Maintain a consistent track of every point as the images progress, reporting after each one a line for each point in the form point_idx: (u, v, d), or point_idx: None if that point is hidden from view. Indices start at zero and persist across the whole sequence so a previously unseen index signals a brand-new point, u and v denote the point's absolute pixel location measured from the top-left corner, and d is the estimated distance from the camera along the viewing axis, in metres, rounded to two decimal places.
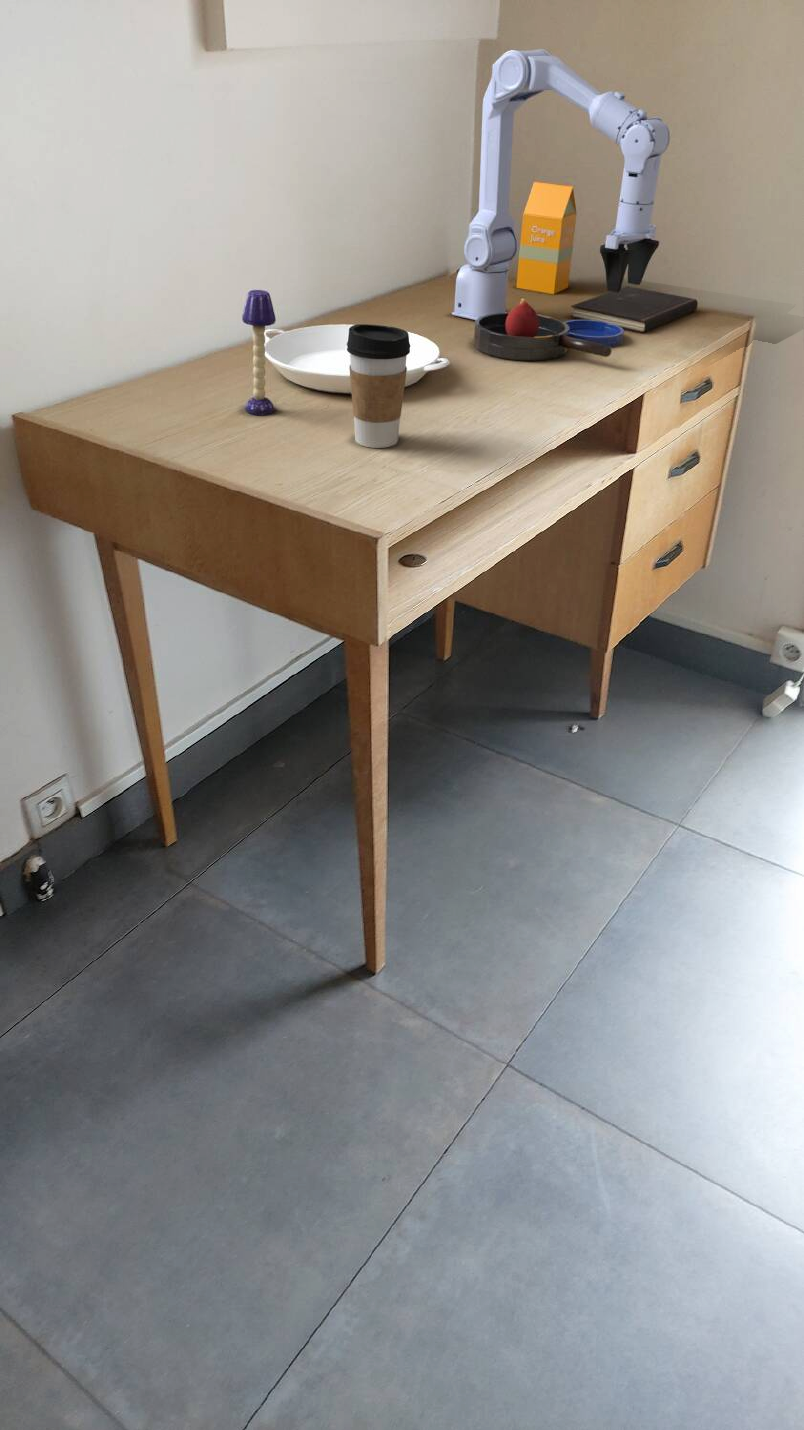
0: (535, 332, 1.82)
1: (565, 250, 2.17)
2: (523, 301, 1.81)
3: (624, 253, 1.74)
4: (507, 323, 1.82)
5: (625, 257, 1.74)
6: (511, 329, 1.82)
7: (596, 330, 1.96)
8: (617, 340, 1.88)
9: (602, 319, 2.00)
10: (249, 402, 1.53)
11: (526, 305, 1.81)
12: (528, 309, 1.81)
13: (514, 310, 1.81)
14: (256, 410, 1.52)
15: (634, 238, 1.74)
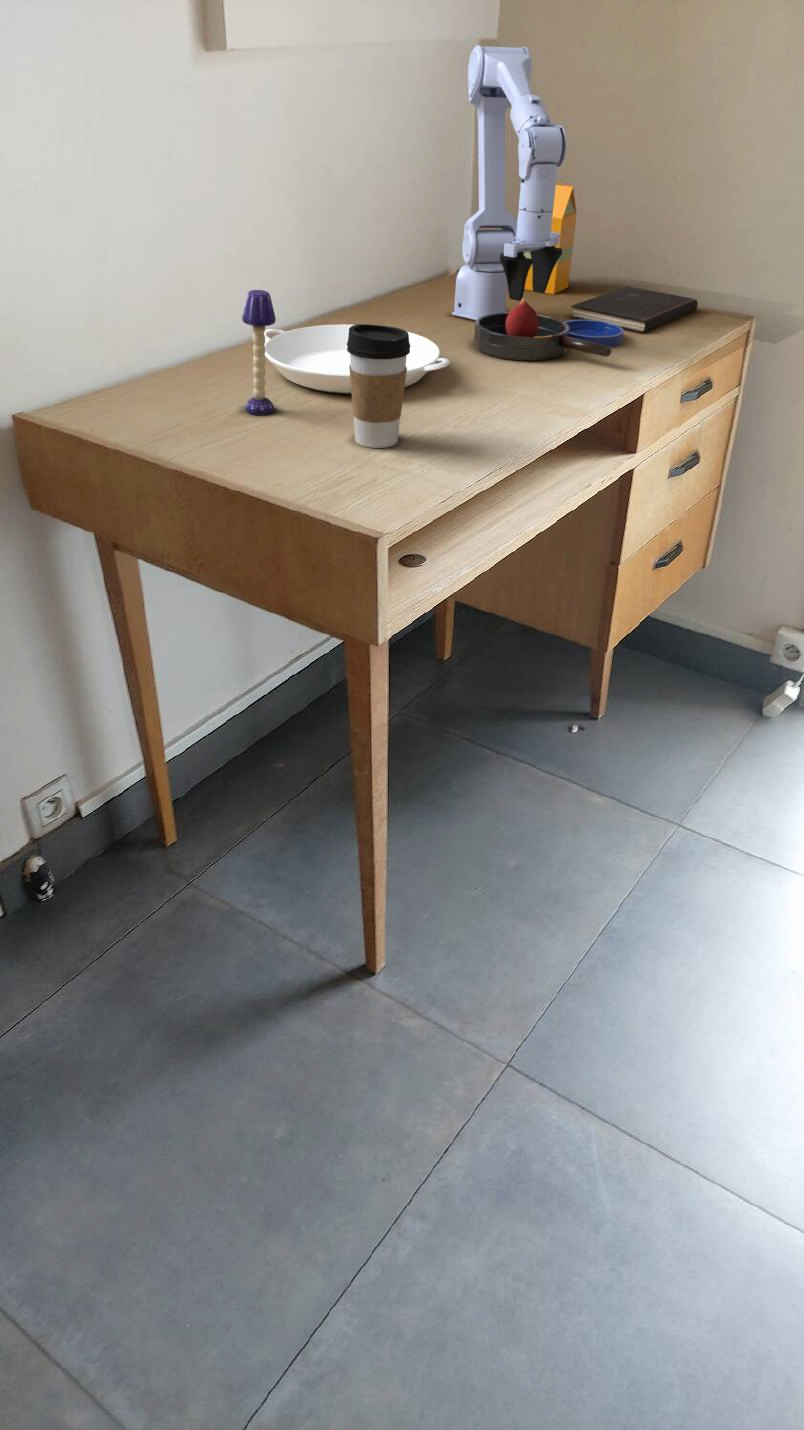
0: (535, 332, 1.82)
1: (565, 250, 2.17)
2: (523, 301, 1.81)
3: (523, 261, 1.72)
4: (507, 323, 1.82)
5: (524, 265, 1.72)
6: (511, 329, 1.82)
7: (596, 330, 1.96)
8: (617, 340, 1.88)
9: (602, 319, 2.00)
10: (249, 402, 1.53)
11: (526, 305, 1.81)
12: (528, 309, 1.81)
13: (514, 310, 1.81)
14: (256, 410, 1.52)
15: (533, 246, 1.72)
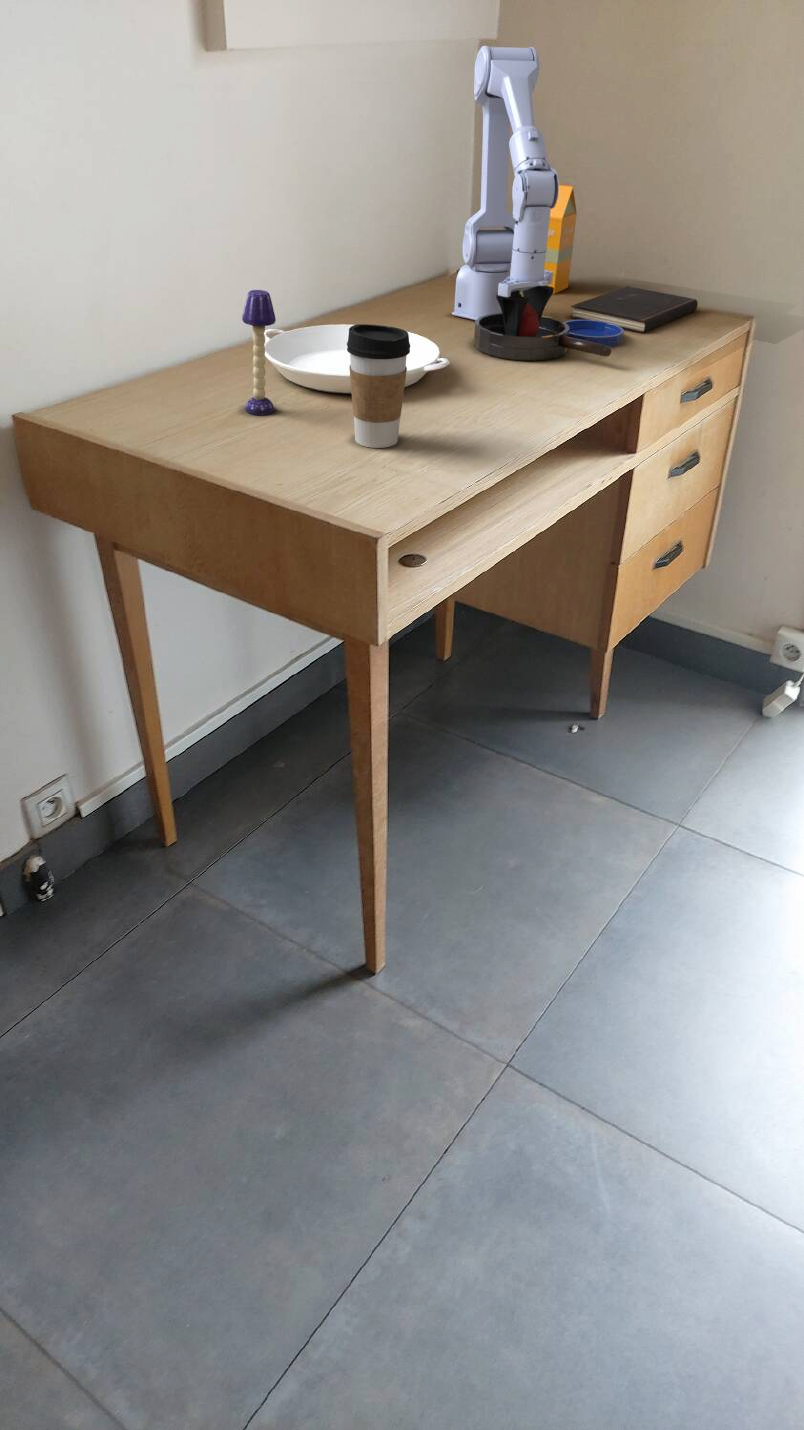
0: (535, 332, 1.82)
1: (565, 250, 2.17)
2: None
3: (519, 300, 1.76)
4: None
5: (520, 304, 1.76)
6: None
7: (596, 330, 1.96)
8: (617, 340, 1.88)
9: (602, 319, 2.00)
10: (249, 402, 1.53)
11: (526, 305, 1.81)
12: (529, 309, 1.81)
13: None
14: (256, 410, 1.52)
15: (527, 286, 1.76)
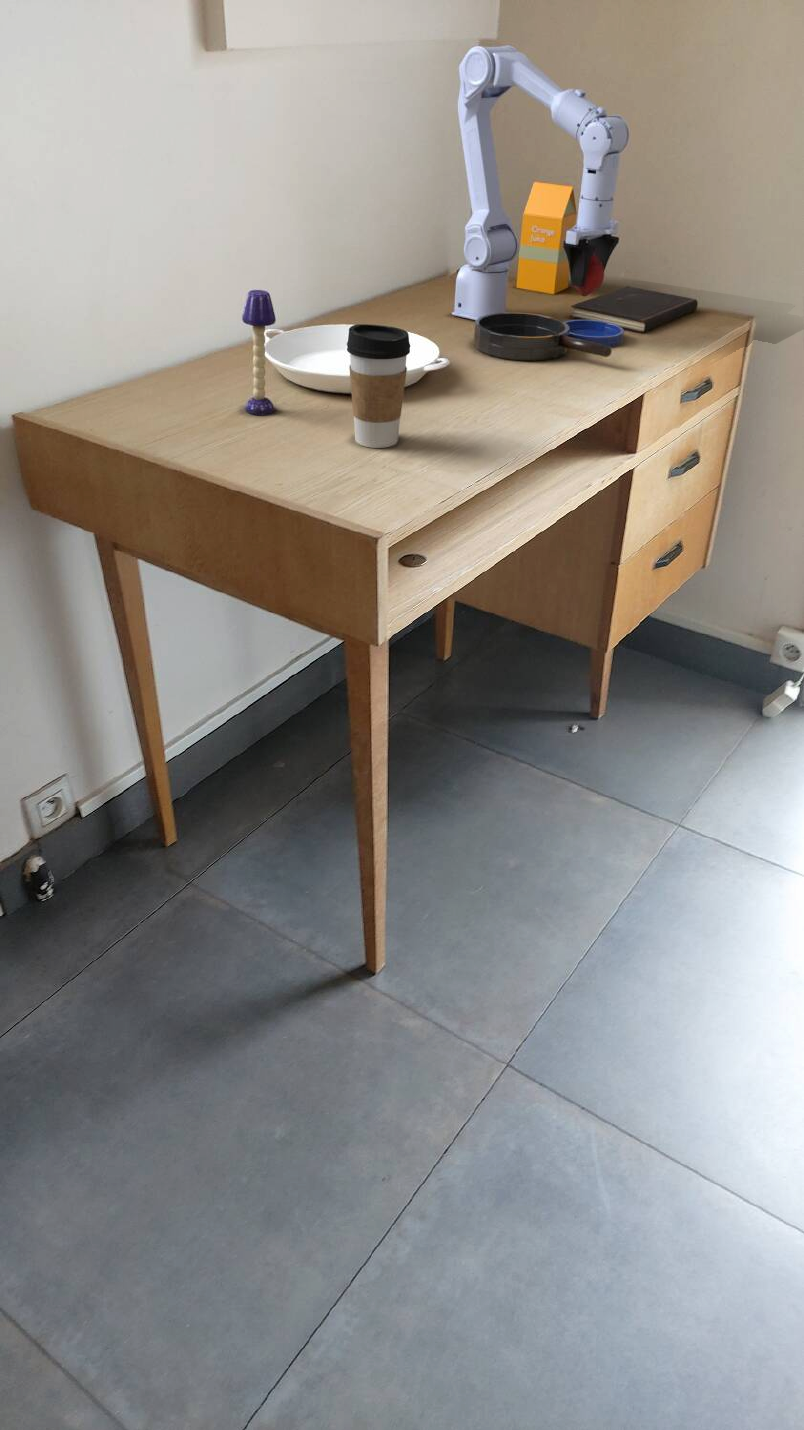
0: (600, 282, 1.84)
1: None
2: None
3: (586, 248, 1.77)
4: None
5: (587, 252, 1.77)
6: None
7: (596, 330, 1.96)
8: (617, 340, 1.88)
9: (602, 319, 2.00)
10: (249, 402, 1.53)
11: None
12: (595, 258, 1.82)
13: None
14: (256, 410, 1.52)
15: (594, 234, 1.77)
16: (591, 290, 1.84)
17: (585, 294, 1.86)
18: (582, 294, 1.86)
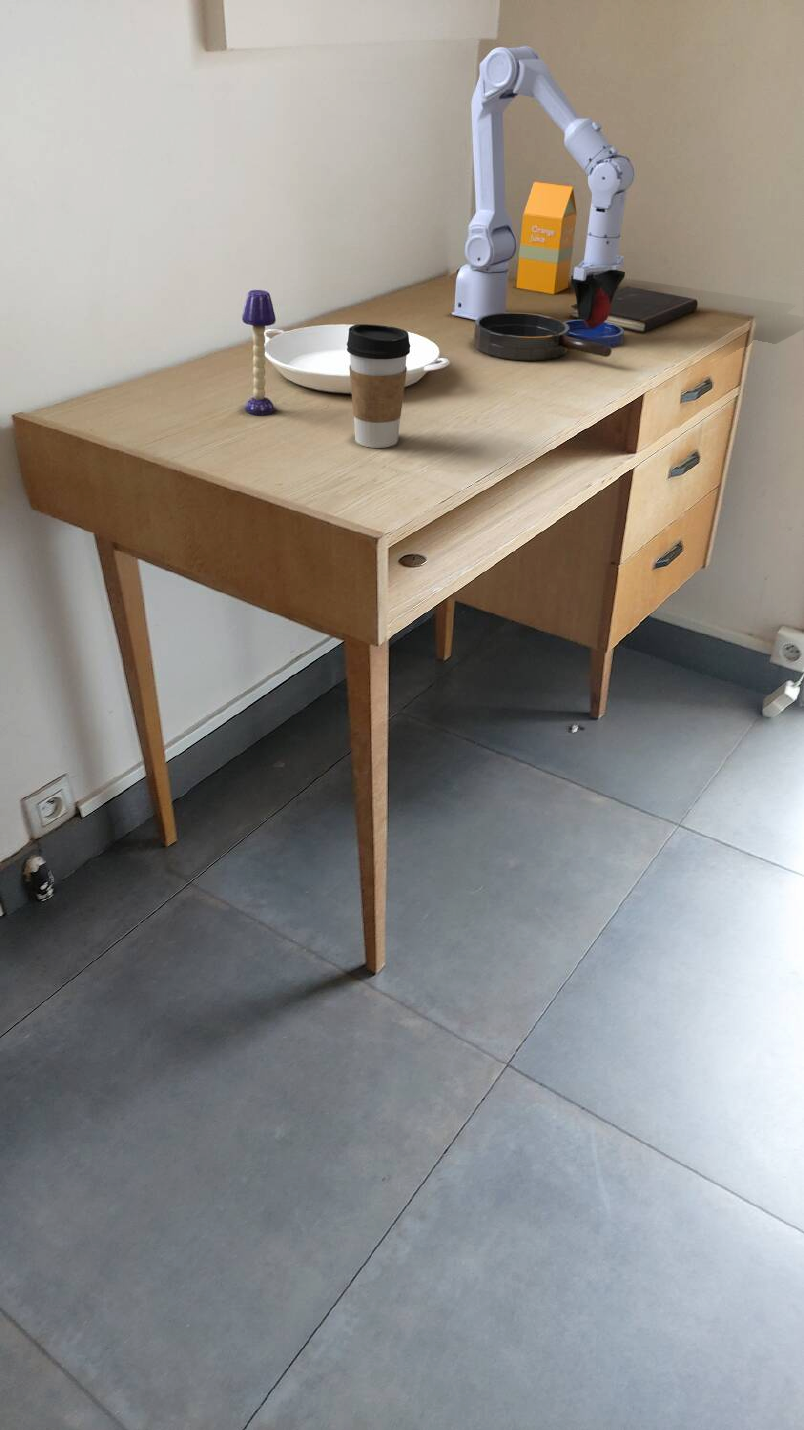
0: (607, 315, 1.88)
1: (565, 250, 2.17)
2: None
3: (593, 283, 1.81)
4: None
5: (594, 287, 1.82)
6: None
7: (596, 330, 1.96)
8: (617, 340, 1.88)
9: None
10: (249, 402, 1.53)
11: None
12: (601, 293, 1.86)
13: None
14: (256, 410, 1.52)
15: (601, 270, 1.82)
16: (598, 323, 1.89)
17: (592, 327, 1.90)
18: (589, 327, 1.90)
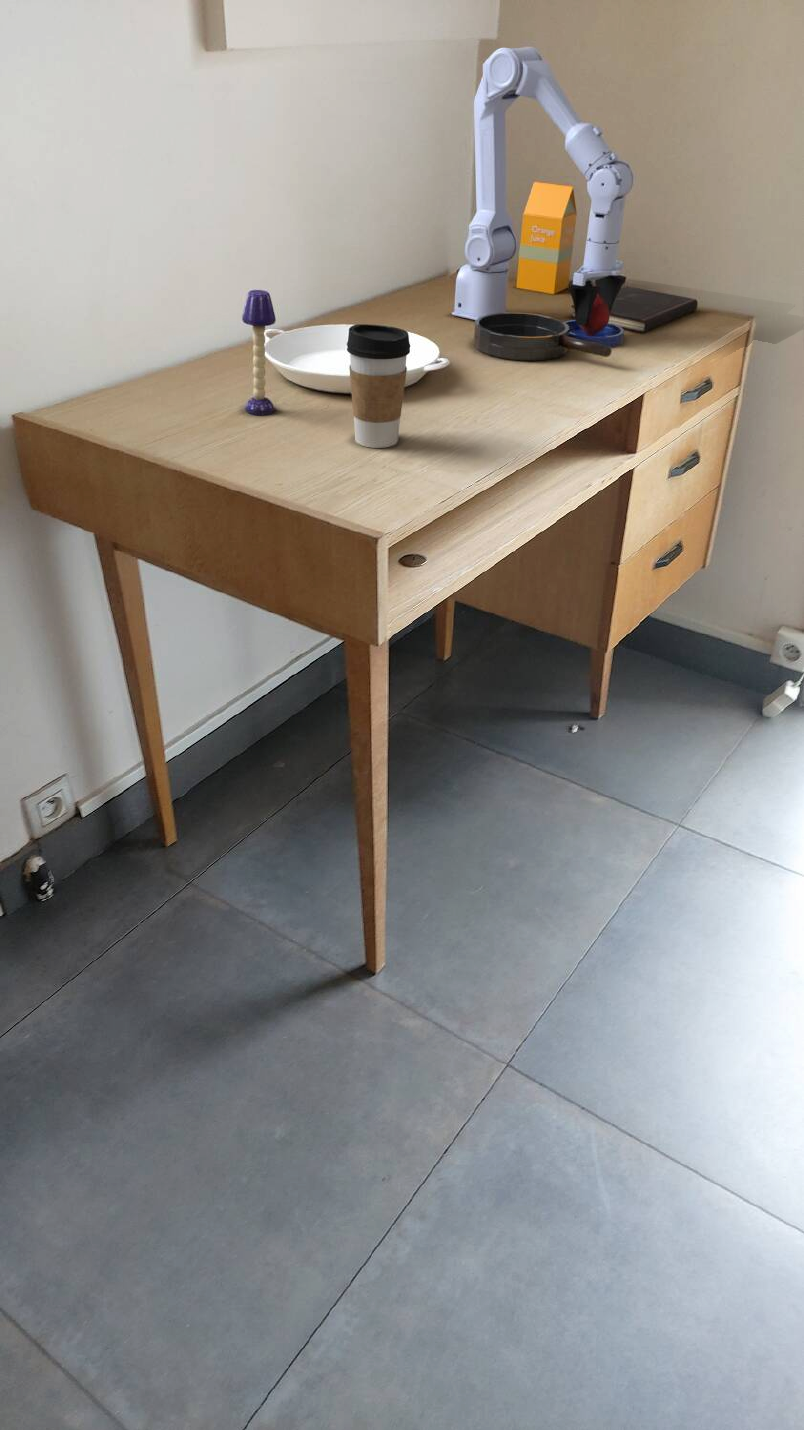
0: (606, 323, 1.89)
1: (565, 250, 2.17)
2: None
3: (591, 290, 1.82)
4: None
5: (592, 293, 1.82)
6: None
7: None
8: (617, 340, 1.88)
9: None
10: (249, 402, 1.53)
11: (598, 297, 1.87)
12: (600, 301, 1.87)
13: None
14: (256, 410, 1.52)
15: (601, 275, 1.82)
16: (597, 331, 1.90)
17: (591, 335, 1.91)
18: (588, 334, 1.91)
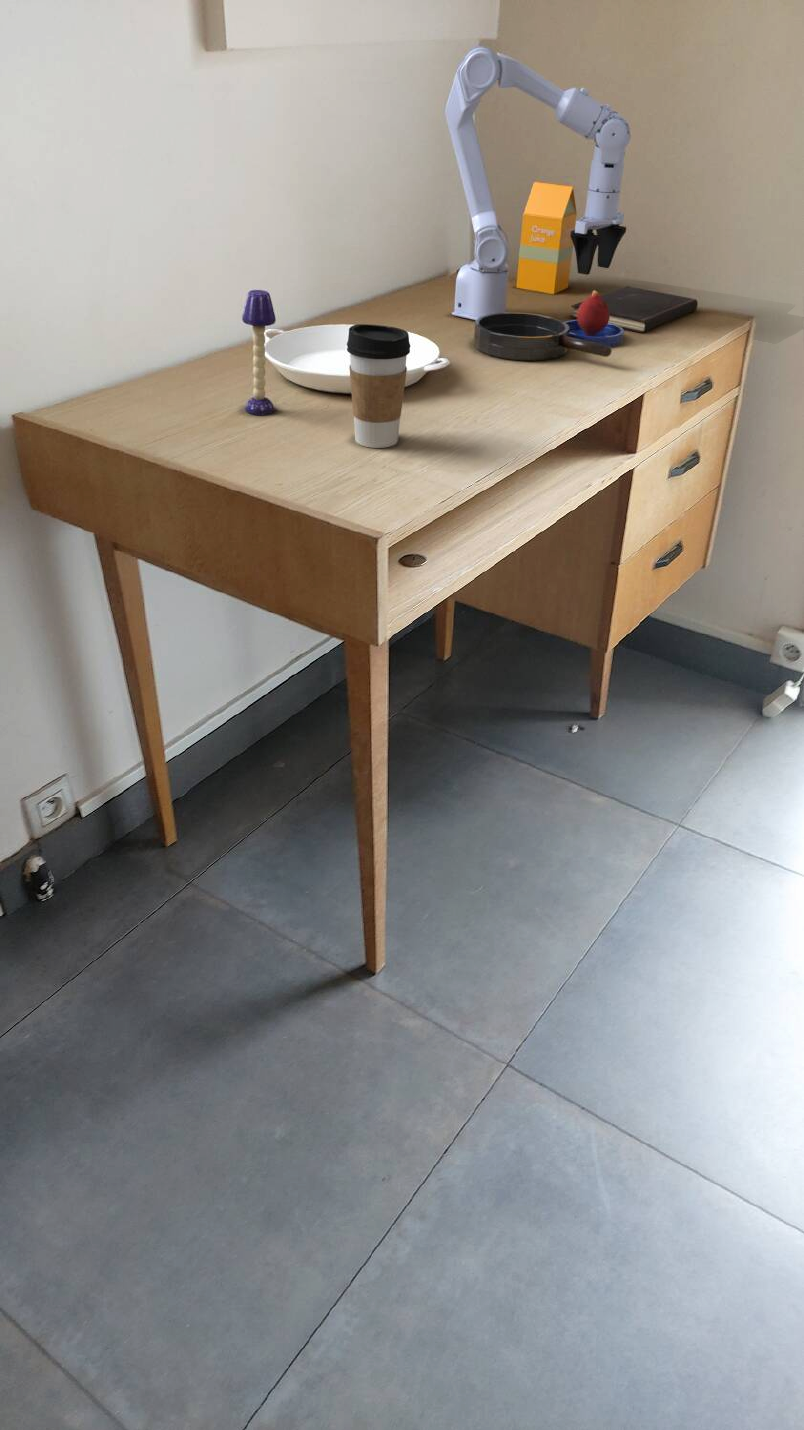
0: (606, 323, 1.89)
1: (565, 250, 2.17)
2: (595, 293, 1.87)
3: (592, 238, 1.87)
4: (579, 314, 1.89)
5: (593, 241, 1.88)
6: (583, 320, 1.88)
7: None
8: (617, 340, 1.88)
9: None
10: (249, 402, 1.53)
11: (598, 297, 1.87)
12: (600, 301, 1.87)
13: (586, 302, 1.88)
14: (256, 410, 1.52)
15: (602, 224, 1.88)
16: (597, 331, 1.90)
17: (591, 335, 1.91)
18: (588, 334, 1.91)
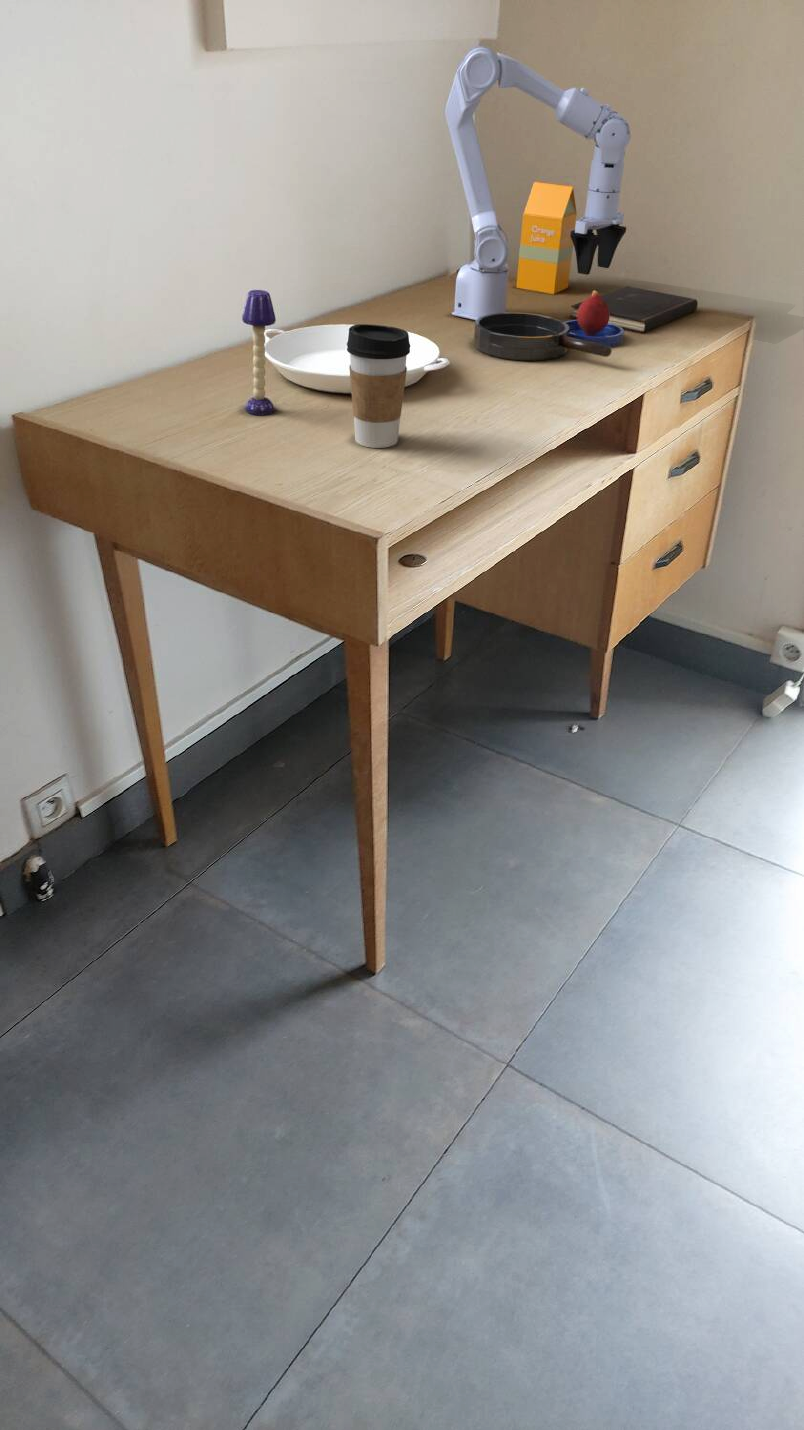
0: (606, 323, 1.89)
1: (565, 250, 2.17)
2: (595, 293, 1.87)
3: (592, 238, 1.87)
4: (579, 314, 1.89)
5: (593, 241, 1.88)
6: (583, 320, 1.88)
7: None
8: (617, 340, 1.88)
9: None
10: (249, 402, 1.53)
11: (598, 297, 1.87)
12: (600, 301, 1.87)
13: (586, 302, 1.88)
14: (256, 410, 1.52)
15: (602, 224, 1.88)
16: (597, 331, 1.90)
17: (591, 335, 1.91)
18: (588, 334, 1.91)
